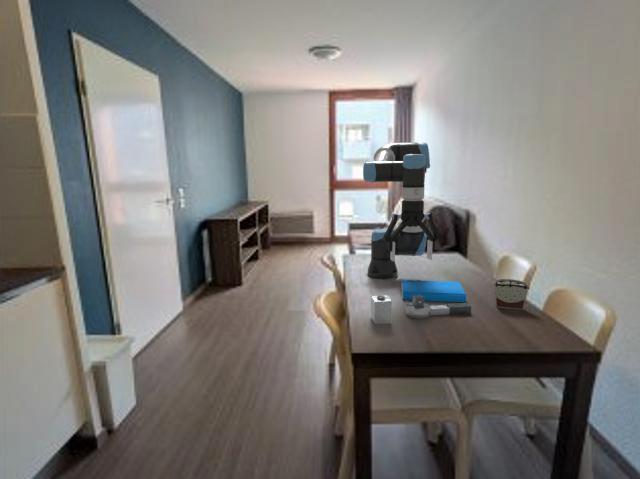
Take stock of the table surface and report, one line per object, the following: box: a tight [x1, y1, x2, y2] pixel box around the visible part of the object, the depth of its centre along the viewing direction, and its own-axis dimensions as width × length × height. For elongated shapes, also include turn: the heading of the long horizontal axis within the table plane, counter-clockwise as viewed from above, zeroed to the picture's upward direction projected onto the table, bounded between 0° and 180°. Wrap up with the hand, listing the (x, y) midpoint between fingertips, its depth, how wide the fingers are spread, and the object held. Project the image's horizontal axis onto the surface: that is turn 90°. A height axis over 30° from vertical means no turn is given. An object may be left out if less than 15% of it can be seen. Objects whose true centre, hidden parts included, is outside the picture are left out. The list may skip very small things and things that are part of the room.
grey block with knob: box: [370, 294, 393, 325], centre depth 136 cm, size 6×6×9 cm
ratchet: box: [405, 295, 472, 320], centre depth 142 cm, size 9×24×7 cm, turn 95°
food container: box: [493, 278, 530, 311], centre depth 149 cm, size 12×6×10 cm, turn 71°
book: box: [400, 279, 467, 303], centre depth 164 cm, size 17×4×25 cm
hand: (411, 259), depth 137 cm, fingers open, 13 cm apart
